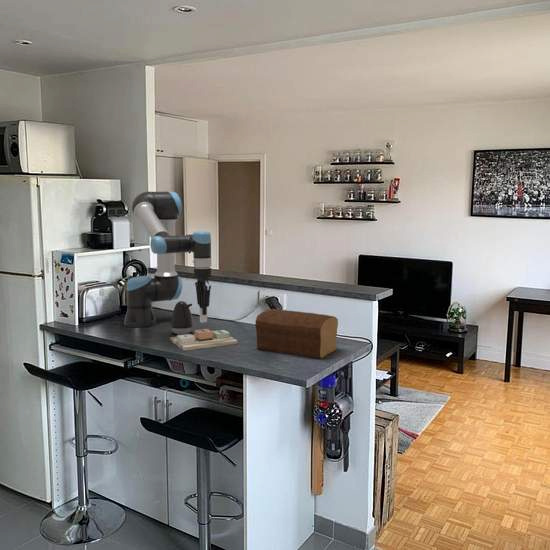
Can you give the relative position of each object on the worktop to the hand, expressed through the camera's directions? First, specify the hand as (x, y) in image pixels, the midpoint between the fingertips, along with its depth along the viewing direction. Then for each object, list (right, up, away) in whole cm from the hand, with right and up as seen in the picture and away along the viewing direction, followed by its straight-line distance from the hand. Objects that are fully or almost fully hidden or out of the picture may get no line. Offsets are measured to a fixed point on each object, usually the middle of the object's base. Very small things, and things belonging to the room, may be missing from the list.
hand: (203, 321), depth 249 cm
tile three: (+7, -7, +5) cm, 11 cm away
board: (0, -9, +2) cm, 9 cm away
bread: (+40, -11, -9) cm, 42 cm away
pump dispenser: (-12, -7, +17) cm, 22 cm away
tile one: (-7, -9, -2) cm, 11 cm away
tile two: (0, -7, +1) cm, 7 cm away
